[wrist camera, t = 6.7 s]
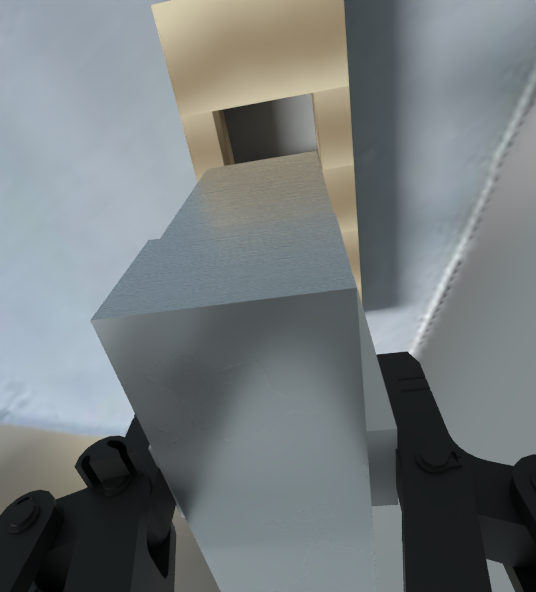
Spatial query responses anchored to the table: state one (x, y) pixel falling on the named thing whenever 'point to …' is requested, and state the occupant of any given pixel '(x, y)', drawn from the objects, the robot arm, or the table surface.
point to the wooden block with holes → (264, 81)
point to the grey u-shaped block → (253, 377)
